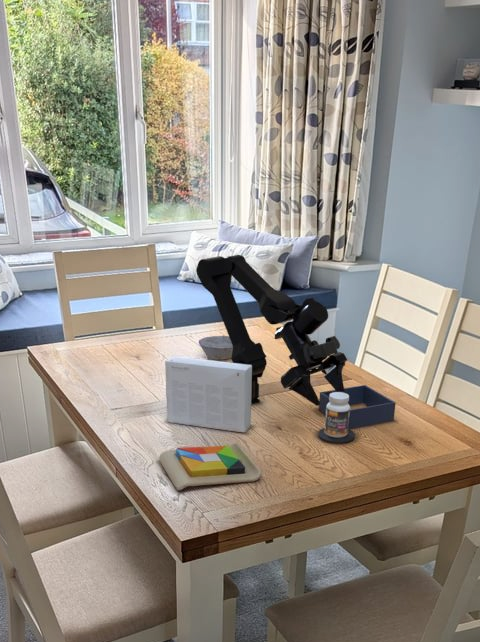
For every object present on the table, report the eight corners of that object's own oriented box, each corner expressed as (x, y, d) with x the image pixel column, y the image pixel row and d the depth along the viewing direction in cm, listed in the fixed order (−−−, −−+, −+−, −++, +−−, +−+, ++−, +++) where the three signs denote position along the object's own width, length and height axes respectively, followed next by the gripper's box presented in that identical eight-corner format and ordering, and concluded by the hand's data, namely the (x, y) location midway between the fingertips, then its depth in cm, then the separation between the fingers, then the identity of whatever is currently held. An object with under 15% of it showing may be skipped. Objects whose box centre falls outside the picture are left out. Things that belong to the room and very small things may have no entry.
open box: (346, 429, 186) (348, 410, 184) (318, 410, 197) (319, 392, 195) (393, 420, 191) (395, 402, 189) (363, 402, 202) (365, 384, 200)
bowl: (197, 350, 241) (197, 335, 239) (237, 349, 242) (237, 334, 240) (200, 363, 230) (199, 347, 227) (241, 362, 231) (241, 346, 229)
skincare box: (252, 425, 188) (253, 364, 180) (245, 433, 183) (245, 371, 176) (174, 414, 194) (172, 354, 186) (166, 422, 189) (163, 361, 181)
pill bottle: (325, 438, 180) (328, 399, 175) (323, 429, 185) (325, 390, 180) (349, 438, 180) (352, 399, 175) (346, 429, 185) (349, 391, 180)
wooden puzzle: (263, 480, 162) (263, 466, 160) (178, 494, 156) (178, 479, 154) (236, 448, 176) (236, 434, 174) (157, 459, 170) (157, 445, 169)
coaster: (329, 446, 177) (330, 444, 177) (311, 432, 184) (311, 430, 184) (362, 440, 181) (362, 438, 180) (342, 426, 188) (342, 424, 187)
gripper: (292, 334, 169) (325, 393, 168) (344, 319, 180) (376, 374, 179) (266, 359, 178) (297, 416, 177) (317, 343, 189) (348, 396, 188)
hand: (331, 400), depth 180 cm, fingers open, 9 cm apart
